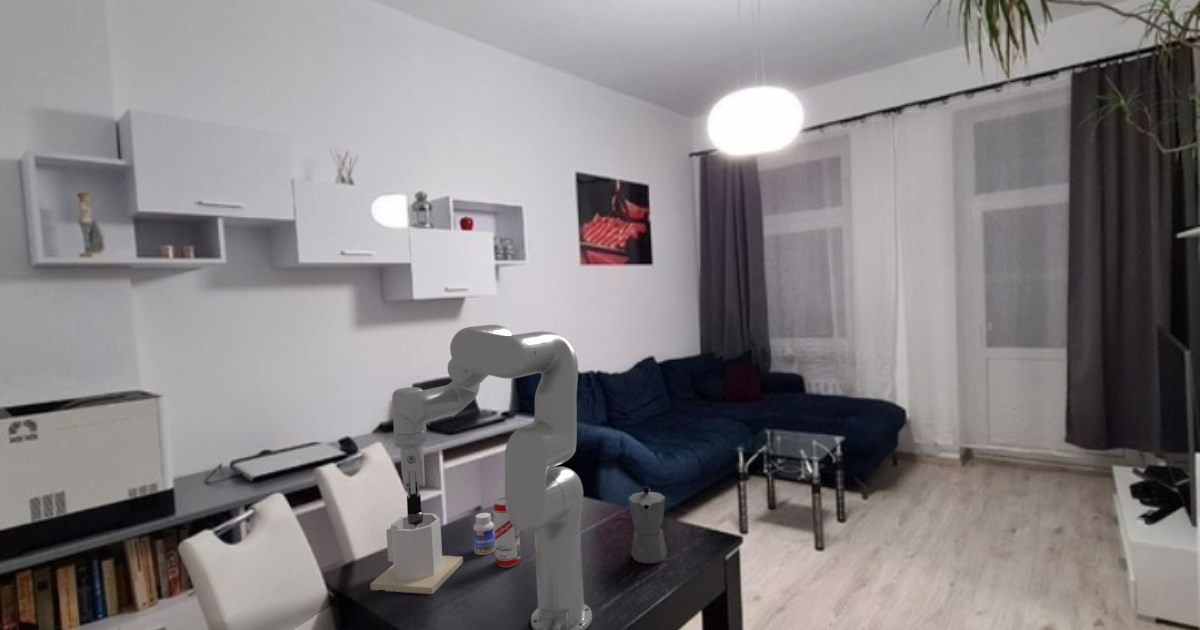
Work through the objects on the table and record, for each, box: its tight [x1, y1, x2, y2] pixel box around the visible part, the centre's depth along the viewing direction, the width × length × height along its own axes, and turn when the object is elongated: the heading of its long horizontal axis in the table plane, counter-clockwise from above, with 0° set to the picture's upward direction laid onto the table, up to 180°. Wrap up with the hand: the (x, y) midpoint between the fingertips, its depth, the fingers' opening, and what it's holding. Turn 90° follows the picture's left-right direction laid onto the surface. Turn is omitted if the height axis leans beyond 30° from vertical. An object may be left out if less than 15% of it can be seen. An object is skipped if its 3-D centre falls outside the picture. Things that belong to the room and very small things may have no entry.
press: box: [369, 512, 464, 595], centre depth 143 cm, size 16×16×14 cm
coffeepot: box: [627, 485, 668, 564], centre depth 149 cm, size 15×9×18 cm, turn 174°
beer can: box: [492, 497, 522, 568], centre depth 148 cm, size 6×6×16 cm
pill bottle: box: [473, 512, 495, 556], centre depth 156 cm, size 5×5×10 cm
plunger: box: [406, 509, 424, 529], centre depth 143 cm, size 8×8×14 cm
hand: (414, 512), depth 143 cm, fingers closed
